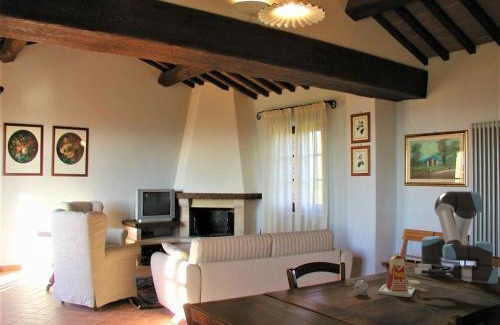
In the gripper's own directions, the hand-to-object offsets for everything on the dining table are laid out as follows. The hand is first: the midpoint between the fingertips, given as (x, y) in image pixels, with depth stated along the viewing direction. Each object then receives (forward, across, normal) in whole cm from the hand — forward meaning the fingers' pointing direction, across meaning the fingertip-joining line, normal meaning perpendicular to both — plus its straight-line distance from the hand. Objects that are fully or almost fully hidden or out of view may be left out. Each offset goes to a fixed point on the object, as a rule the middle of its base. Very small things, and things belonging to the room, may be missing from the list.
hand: (416, 268), depth 232 cm
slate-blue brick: (+14, +13, -13) cm, 24 cm away
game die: (+24, -16, -13) cm, 32 cm away
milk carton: (+10, 0, -13) cm, 16 cm away
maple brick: (+2, +12, -13) cm, 18 cm away
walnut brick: (-4, -5, -13) cm, 15 cm away
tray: (+10, 0, -13) cm, 16 cm away
